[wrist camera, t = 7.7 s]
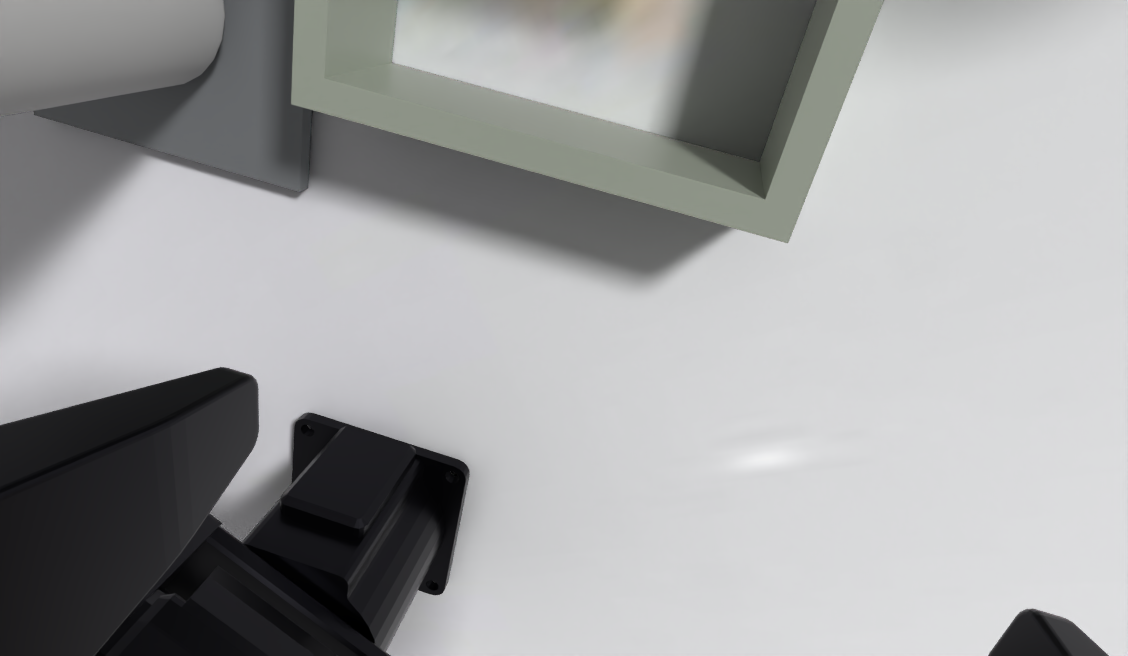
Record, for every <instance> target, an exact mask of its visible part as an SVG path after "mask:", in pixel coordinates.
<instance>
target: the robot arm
mask: <svg viewBox="0 0 1128 656" xmlns="http://www.w3.org/2000/svg"><path fill="white" fill-rule="evenodd" d="M307 425H309V426H311V427H312V428H313V430H312V429H310V428H309V427H308V426H307ZM258 432H259V405H258V384H257V381H256V379H255V378H254V377H253V376H252V375H249V374H246V373H243V372H239V371H236V370H233V369H229V368H224V367H220V368H215V369H212V370H208V371H204V372H200V373H197V374H193V375H189V376H185V377H181V378H178V379H174V380H170V381H166V382H162V383H159V384H155V385H151V386H147V387H143V388H140V389H136V390H132V391H128V392H125V393H121V394H117V395H113V396H109V397H106V398H102V399H98V400H94V401H90V402H87V403H83V404H79V405H75V406H71V407H68V408H64V409H60V410H56V411H53V412H49V413H45V414H41V415H37V416H34V417H30V418H26V419H22V420H18V421H15V422H11V423H7V424H3V425H0V656H390V655H389V654H388V653H386V650H387V648H388V646H389V645H390V643H391V641H392V639H393V637H394V635H395V633H396V631H397V629H398V627H399V625H400V623H401V621H402V619H403V618H404V616H405V614H406V612H407V610H408V608H409V606H410V604H411V602H412V600H413V598H414V596H415V594H416V592H417V591H418V590H419V591H422V592H425V593H428V594H432V595H440V594H442V593H443V592H444V590H445V588H446V585H447V583H448V580H449V575H450V570H451V565H452V560H453V555H454V550H455V545H456V540H457V535H458V530H459V525H460V520H461V515H462V510H463V505H464V500H465V495H466V490H467V485H468V480H469V469H468V467H467V465H466V464H465V463H464V462H462V461H460V460H458V459H455V458H452V457H448V456H445V455H442V454H439V453H436V452H433V451H430V450H427V449H423V448H420V447H417V446H414V445H411V444H408V443H405V442H402V441H398V440H395V439H392V438H389V437H386V436H383V435H380V434H377V433H374V432H370V431H367V430H364V429H361V428H358V427H355V426H352V425H349V424H345V423H342V422H339V421H336V420H333V419H330V418H327V417H324V416H321V415H317V414H314V413H306V414H304V415H303V416H302V417H301V418H300V419H299V420H298V421H297V422H296V423H295V428H294V450H293V472H292V484H291V485H290V487H289V488H288V489H287V490H286V491H285V492H284V493H283V495H282V496H281V498H280V499H279V501H278V502H277V503H276V504H275V505H274V506H273V507H272V508H271V510H270V511H269V512H268V513H267V514H266V515H265V516H264V518H263V519H262V520H261V521H260V522H259V523H258V524H257V526H256V527H255V528H254V529H253V530H252V531H251V532H250V534H249V535H248V536H247V537H246V538H245V539H244V540H243V542H240V541H239V540H238V539H236V538H235V537H234V536H233V535H231V534H230V533H229V532H227V531H226V530H225V529H223V528H222V527H221V526H220V525H221V524H222V523H221V522H220V521H218V520H217V519H216V518H214V517H213V516H212V515H211V514H209V513H210V511H211V510H212V508H213V507H214V505H215V504H216V502H217V501H218V500H219V498H220V497H221V495H222V494H223V492H224V491H225V489H226V488H227V486H228V485H229V483H230V482H231V481H232V479H233V478H234V476H235V475H236V473H237V472H238V470H239V469H240V467H241V466H242V464H243V463H244V462H245V460H246V459H247V457H248V456H249V454H250V453H251V451H252V450H253V448H254V446H255V444H256V441H257V437H258ZM450 471H451V472H455V473H456V474H457V475H458V476H454V475H452V474H451V472H450ZM988 656H1109V655H1108V654H1106V653H1105V652H1104V651H1103V650H1102V649H1101V648H1100V647H1099V646H1098V645H1097V644H1096V643H1095V642H1093V641H1092V640H1091V639H1090V638H1089V637H1088V636H1087V635H1086V634H1085V633H1084V632H1083V631H1082V630H1080V629H1079V628H1078V627H1077V626H1076V625H1075V624H1074V623H1073V622H1071V621H1069V620H1068V619H1066V618H1063V617H1060V616H1056V615H1053V614H1050V613H1046V612H1043V611H1040V610H1036V609H1026V610H1023V611H1022V612H1020V613H1019V614H1018V615H1017V616H1016V617H1015V619H1014V620H1013V622H1012V623H1011V624H1010V626H1009V627H1008V628H1007V630H1006V631H1005V633H1004V634H1003V635H1002V637H1001V638H1000V639H999V641H998V642H997V644H996V645H995V646H994V648H993V649H992V650H991V652H990V653H989V655H988Z"/></svg>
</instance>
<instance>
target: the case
mask: <svg viewBox="0 0 1128 656" xmlns="http://www.w3.org/2000/svg"><path fill="white" fill-rule="evenodd" d="M883 2H884V0H817V1H816V4H815V7H814V10H813V12H812V15H811V18H810V21H809V24H808V27H807V29H806V32H805V35H804V38H803V41H802V43H801V46H800V49H799V52H798V55H797V58H796V60H795V63H794V66H793V69H792V72H791V75H790V77H789V80H788V83H787V86H786V89H785V91H784V94H783V97H782V100H781V103H780V106H779V108H778V111H777V114H776V117H775V120H774V123H773V125H772V128H771V131H770V134H769V137H768V140H767V142H766V145H765V148H764V151H763V154H762V156H761V159H760V162H757V161H753V160H750V159H746V158H742V157H738V156H735V155H731V154H727V153H724V152H720V151H716V150H713V149H709V148H705V147H702V146H698V145H694V144H690V143H687V142H683V141H679V140H676V139H672V138H668V137H665V136H661V135H657V134H654V133H650V132H646V131H642V130H639V129H635V128H631V127H628V126H624V125H620V124H617V123H613V122H609V121H606V120H602V119H598V118H595V117H591V116H587V115H583V114H580V113H576V112H572V111H569V110H565V109H561V108H558V107H554V106H550V105H547V104H543V103H539V102H535V101H532V100H528V99H524V98H521V97H517V96H513V95H510V94H506V93H502V92H499V91H495V90H491V89H487V88H484V87H480V86H476V85H473V84H469V83H465V82H462V81H458V80H454V79H451V78H447V77H443V76H439V75H436V74H432V73H428V72H425V71H421V70H417V69H414V68H410V67H406V66H403V65H399V64H395V63H392V55H393V45H394V35H395V25H396V14H397V4H398V0H295V4H294V34H293V63H292V92H291V104H292V105H296V106H299V107H303V108H307V109H310V110H314V111H317V112H321V113H324V114H328V115H332V116H335V117H339V118H342V119H346V120H349V121H353V122H356V123H360V124H364V125H367V126H371V127H374V128H378V129H381V130H385V131H389V132H392V133H396V134H399V135H403V136H406V137H410V138H414V139H417V140H421V141H424V142H428V143H431V144H435V145H439V146H442V147H446V148H449V149H453V150H456V151H460V152H464V153H467V154H471V155H474V156H478V157H481V158H485V159H489V160H492V161H496V162H499V163H503V164H506V165H510V166H514V167H517V168H521V169H524V170H528V171H531V172H535V173H539V174H542V175H546V176H549V177H553V178H556V179H560V180H564V181H567V182H571V183H574V184H578V185H581V186H585V187H589V188H592V189H596V190H599V191H603V192H606V193H610V194H614V195H617V196H621V197H624V198H628V199H631V200H635V201H638V202H642V203H646V204H649V205H653V206H656V207H660V208H663V209H667V210H671V211H674V212H678V213H681V214H685V215H688V216H692V217H696V218H699V219H703V220H706V221H710V222H713V223H717V224H721V225H724V226H728V227H731V228H735V229H738V230H742V231H746V232H749V233H753V234H756V235H760V236H763V237H767V238H771V239H774V240H778V241H781V242H785V243H788V242H789V239H790V237H791V234H792V232H793V229H794V227H795V224H796V222H797V219H798V217H799V214H800V212H801V209H802V207H803V204H804V202H805V199H806V196H807V194H808V191H809V189H810V186H811V184H812V181H813V179H814V176H815V174H816V171H817V169H818V166H819V164H820V161H821V159H822V156H823V153H824V151H825V148H826V146H827V143H828V141H829V138H830V136H831V133H832V131H833V128H834V126H835V123H836V121H837V118H838V116H839V113H840V110H841V108H842V105H843V103H844V100H845V98H846V95H847V93H848V90H849V88H850V85H851V83H852V80H853V78H854V75H855V73H856V70H857V67H858V65H859V62H860V60H861V57H862V55H863V52H864V50H865V47H866V45H867V42H868V40H869V37H870V35H871V32H872V30H873V27H874V24H875V22H876V19H877V17H878V14H879V12H880V9H881V7H882V4H883Z"/></svg>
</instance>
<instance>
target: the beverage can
mask: <svg viewBox="0 0 1128 656" xmlns="http://www.w3.org/2000/svg"><path fill="white" fill-rule="evenodd" d="M224 21H225V10H224V1H223V0H0V117H2V116H8V115H14V114H19V113H25V112H30V111H36V110H41V109H47V108H52V107H58V106H63V105H69V104H74V103H80V102H85V101H91V100H96V99H102V98H107V97H113V96H118V95H124V94H130V93H135V92H141V91H147V90H152V89H158V88H164V87H169V86H175V85H181V84H185V83H187V82H189V81H191V80H192V79H194V78H196V77H198V76H200V75H201V74H202V73H203V72H204V71H205V70H206V68H207V67H208V66H209V65H210V64H211V63H212V61H213V60H214V58H215V56H216V53H217V51H218V49H219V46H220V44H221V41H222V37H223V29H224Z"/></svg>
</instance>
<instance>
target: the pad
mask: <svg viewBox="0 0 1128 656" xmlns="http://www.w3.org/2000/svg"><path fill="white" fill-rule="evenodd" d="M223 1H224V10H225V21H224V29H223V37H222V41H221V44H220V46H219V49H218V51H217V53H216V56H215V58H214V60H213V61H212V63H211V64H210V65H209V66H208V67H207V68H206V70H205V71H204V72H203V73H202V74H201V75H200V76H198V77H196V78H194V79H192V80H191V81H189V82H187V83H185V84H181V85H175V86H169V87H164V88H158V89H152V90H147V91H141V92H135V93H130V94H124V95H118V96H113V97H107V98H102V99H96V100H91V101H85V102H80V103H74V104H69V105H63V106H58V107H52V108H47V109H41V110H36V111H34V115H37V116H40V117H44V118H47V119H50V120H54V121H57V122H61V123H64V124H68V125H71V126H74V127H78V128H81V129H85V130H88V131H92V132H95V133H98V134H102V135H105V136H109V137H112V138H116V139H119V140H122V141H126V142H129V143H133V144H136V145H140V146H143V147H146V148H150V149H153V150H157V151H160V152H164V153H167V154H170V155H174V156H177V157H181V158H184V159H188V160H191V161H194V162H198V163H201V164H205V165H208V166H212V167H215V168H218V169H222V170H225V171H229V172H232V173H236V174H239V175H242V176H246V177H249V178H253V179H256V180H260V181H263V182H266V183H270V184H273V185H277V186H280V187H284V188H287V189H290V190H294V191H297V192H301V191H303V190H305V189H307V188H308V179H309V158H310V137H311V116H312V110H310V109H307V108H303V107H299V106H296V105H292V104H291V92H292V63H293V34H294V4H295V0H223Z"/></svg>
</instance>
